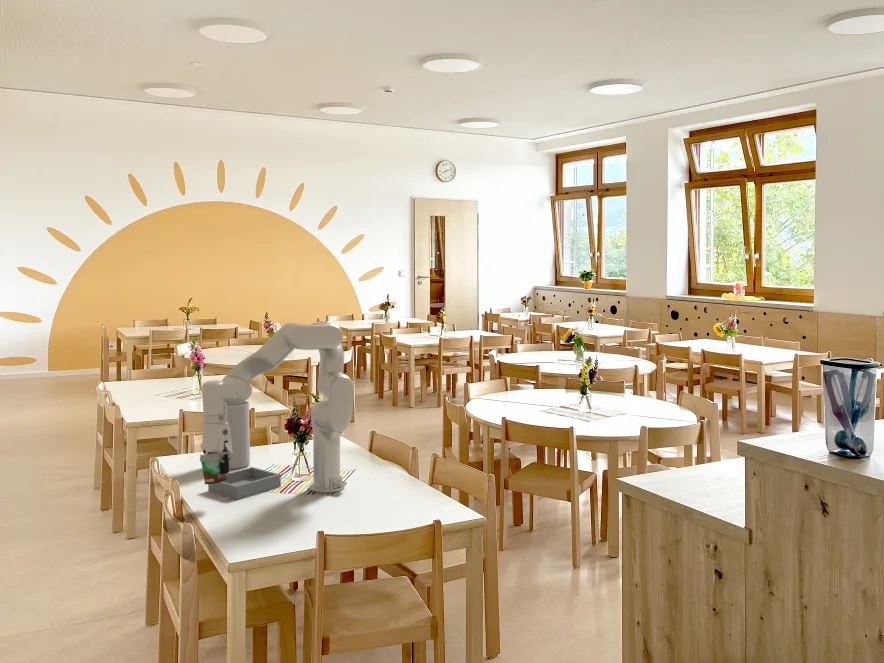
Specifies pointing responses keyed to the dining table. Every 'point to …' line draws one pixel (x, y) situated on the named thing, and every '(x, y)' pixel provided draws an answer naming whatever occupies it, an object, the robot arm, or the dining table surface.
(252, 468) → the bin
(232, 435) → the cylinder vase
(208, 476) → the food container
